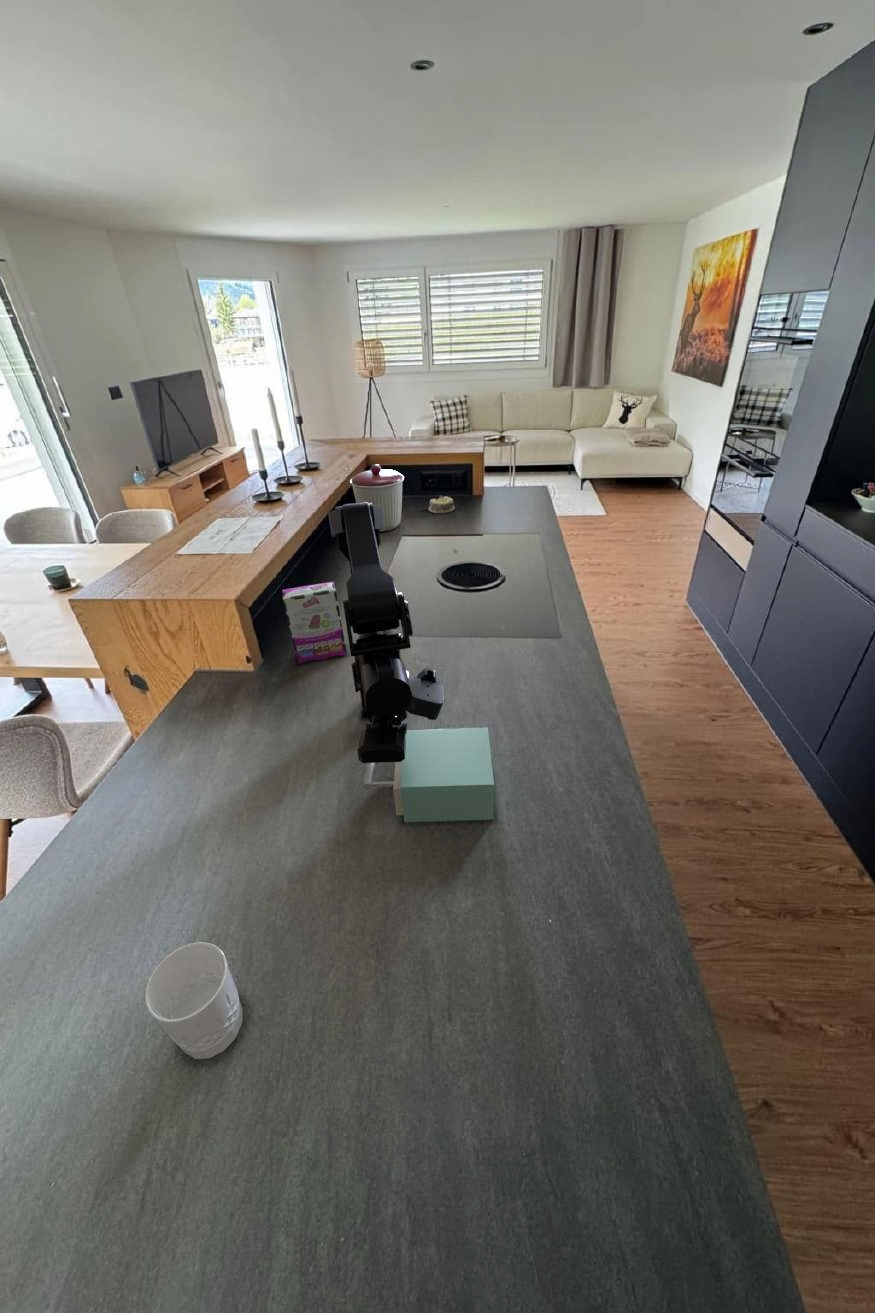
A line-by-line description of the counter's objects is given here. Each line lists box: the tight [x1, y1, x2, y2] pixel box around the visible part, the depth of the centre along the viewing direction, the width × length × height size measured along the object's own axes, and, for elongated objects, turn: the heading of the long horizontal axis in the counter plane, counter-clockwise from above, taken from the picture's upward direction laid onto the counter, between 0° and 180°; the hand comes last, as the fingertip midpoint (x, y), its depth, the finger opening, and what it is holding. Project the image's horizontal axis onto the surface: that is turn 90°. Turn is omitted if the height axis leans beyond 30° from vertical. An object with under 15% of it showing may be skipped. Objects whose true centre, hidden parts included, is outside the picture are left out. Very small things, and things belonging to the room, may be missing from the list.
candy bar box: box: [282, 581, 348, 665], centre depth 121 cm, size 11×5×16 cm, turn 105°
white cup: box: [144, 941, 244, 1060], centre depth 59 cm, size 8×8×10 cm
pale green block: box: [401, 727, 495, 823], centre depth 88 cm, size 14×13×8 cm
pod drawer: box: [362, 761, 404, 816], centre depth 88 cm, size 17×11×6 cm, turn 90°
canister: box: [349, 463, 405, 532], centre depth 187 cm, size 18×18×21 cm
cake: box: [427, 494, 456, 514], centre depth 204 cm, size 10×10×5 cm
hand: (391, 754), depth 85 cm, fingers closed
